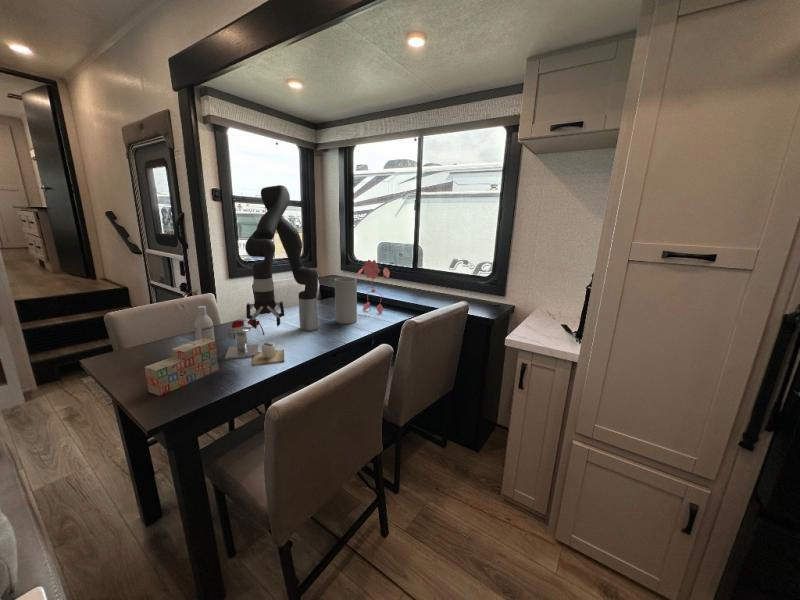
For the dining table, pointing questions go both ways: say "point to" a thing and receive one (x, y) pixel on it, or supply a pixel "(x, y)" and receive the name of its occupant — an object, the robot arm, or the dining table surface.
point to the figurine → (371, 272)
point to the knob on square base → (241, 345)
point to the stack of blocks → (182, 366)
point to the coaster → (260, 361)
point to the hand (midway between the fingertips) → (266, 327)
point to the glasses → (241, 323)
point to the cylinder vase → (346, 300)
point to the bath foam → (203, 325)
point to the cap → (268, 350)
